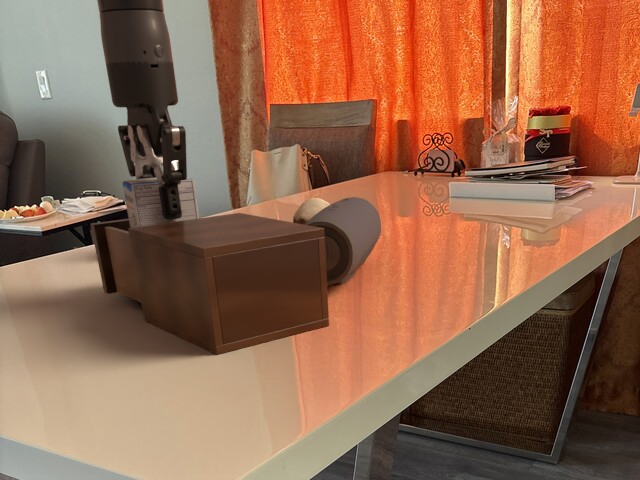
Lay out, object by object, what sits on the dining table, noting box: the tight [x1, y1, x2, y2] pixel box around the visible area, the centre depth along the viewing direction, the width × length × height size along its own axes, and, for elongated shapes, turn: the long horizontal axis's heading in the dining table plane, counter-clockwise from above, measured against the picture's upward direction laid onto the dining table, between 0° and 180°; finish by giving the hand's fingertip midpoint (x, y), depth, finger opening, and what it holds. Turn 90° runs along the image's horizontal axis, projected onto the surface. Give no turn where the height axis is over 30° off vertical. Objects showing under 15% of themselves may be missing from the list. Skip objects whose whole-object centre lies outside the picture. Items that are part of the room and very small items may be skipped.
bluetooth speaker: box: [304, 196, 382, 286], centre depth 102 cm, size 23×9×10 cm, turn 169°
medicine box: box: [122, 176, 200, 228], centre depth 90 cm, size 8×4×9 cm, turn 121°
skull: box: [292, 197, 331, 225], centre depth 127 cm, size 12×10×10 cm
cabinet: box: [128, 212, 330, 355], centre depth 82 cm, size 18×15×11 cm
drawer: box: [90, 218, 141, 303], centre depth 94 cm, size 21×14×9 cm, turn 39°
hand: (163, 215), depth 90 cm, fingers closed on medicine box, 4 cm apart
